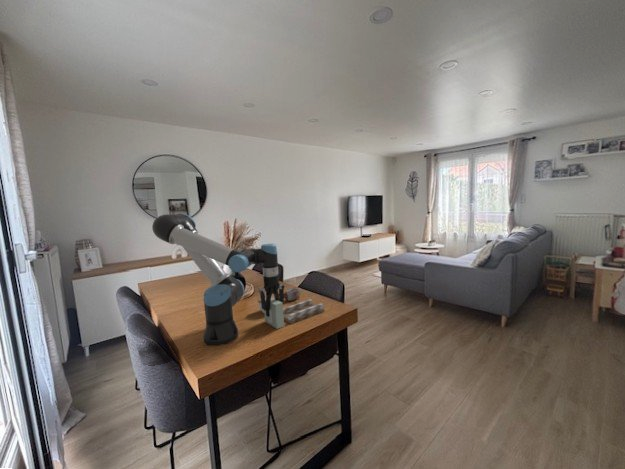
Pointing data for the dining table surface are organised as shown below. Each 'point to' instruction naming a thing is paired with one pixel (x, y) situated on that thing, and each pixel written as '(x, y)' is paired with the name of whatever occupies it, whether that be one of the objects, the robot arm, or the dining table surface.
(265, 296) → the lidded jar
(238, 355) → the dining table surface
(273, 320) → the pale green square block
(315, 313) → the grey bumpy tray
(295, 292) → the decorative duck model
